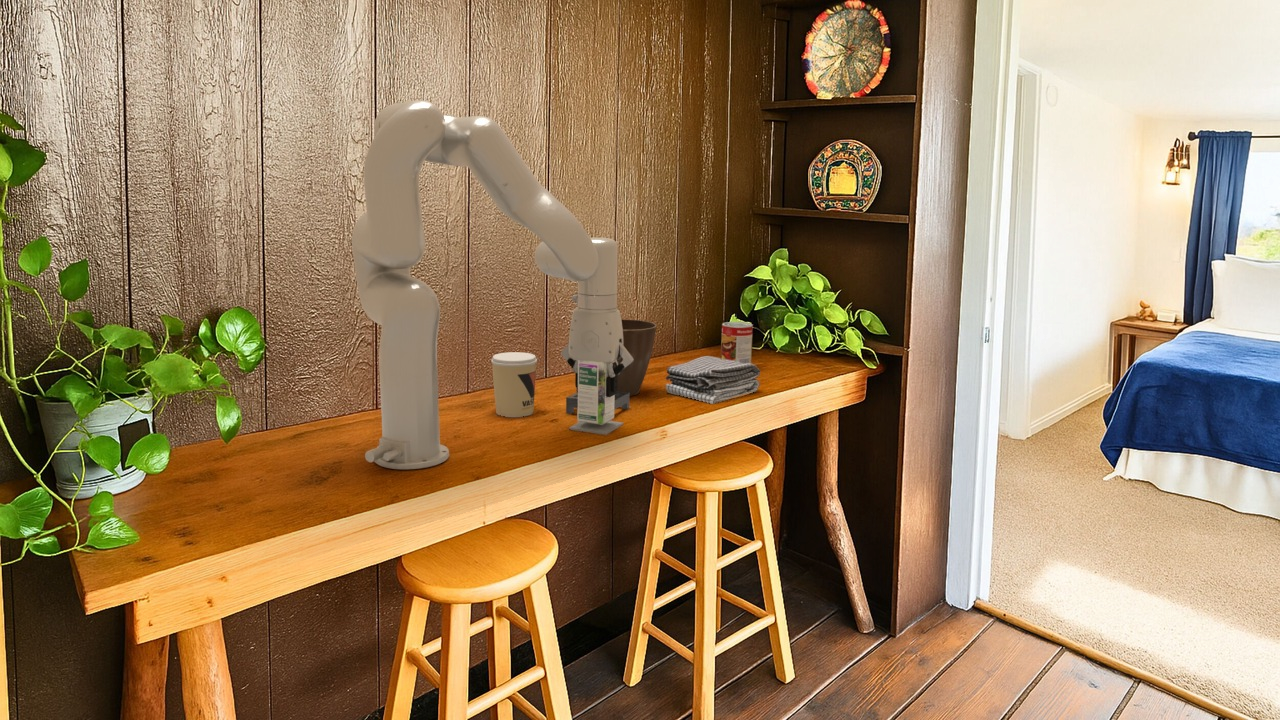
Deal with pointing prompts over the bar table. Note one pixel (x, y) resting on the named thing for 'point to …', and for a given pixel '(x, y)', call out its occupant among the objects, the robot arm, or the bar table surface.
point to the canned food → (736, 341)
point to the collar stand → (620, 400)
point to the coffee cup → (514, 383)
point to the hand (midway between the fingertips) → (596, 392)
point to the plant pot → (636, 353)
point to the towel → (712, 379)
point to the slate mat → (596, 427)
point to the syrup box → (593, 393)
